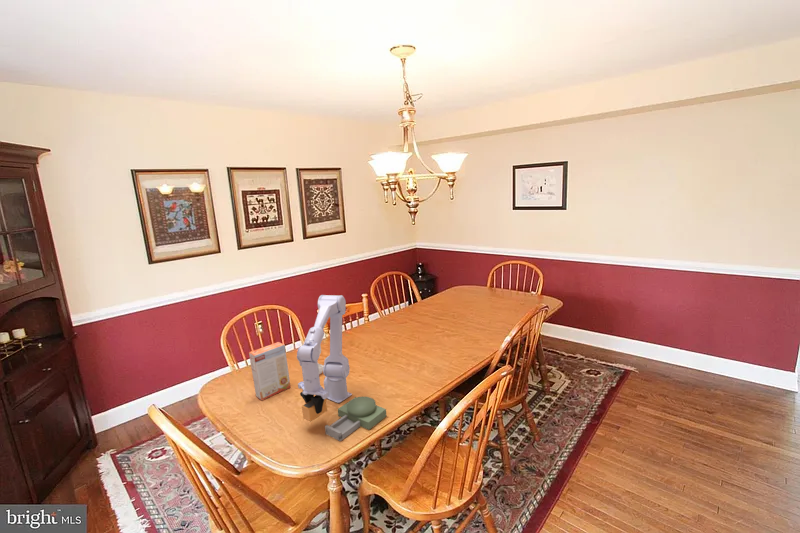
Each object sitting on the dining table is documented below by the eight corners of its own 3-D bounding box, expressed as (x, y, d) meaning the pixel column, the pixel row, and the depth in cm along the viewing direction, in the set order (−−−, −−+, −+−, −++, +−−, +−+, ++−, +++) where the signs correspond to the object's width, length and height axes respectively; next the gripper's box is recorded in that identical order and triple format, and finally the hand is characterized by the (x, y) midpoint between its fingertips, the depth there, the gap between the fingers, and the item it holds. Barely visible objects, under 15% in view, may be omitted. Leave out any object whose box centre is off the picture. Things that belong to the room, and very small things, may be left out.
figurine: (302, 376, 182) (298, 346, 178) (317, 368, 189) (314, 339, 186) (311, 380, 177) (308, 350, 174) (327, 371, 184) (324, 342, 181)
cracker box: (284, 383, 175) (278, 340, 171) (291, 387, 171) (285, 344, 167) (255, 396, 166) (248, 351, 161) (261, 401, 162) (254, 355, 157)
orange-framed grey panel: (303, 418, 139) (301, 405, 138) (320, 407, 145) (318, 395, 144) (310, 421, 137) (308, 408, 136) (327, 410, 143) (325, 398, 142)
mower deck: (317, 429, 140) (316, 417, 139) (357, 403, 156) (356, 391, 155) (349, 445, 130) (347, 432, 129) (387, 415, 146) (386, 403, 145)
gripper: (289, 376, 139) (293, 409, 142) (315, 387, 130) (319, 422, 133) (304, 368, 145) (308, 400, 148) (331, 378, 136) (334, 412, 139)
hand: (315, 410), depth 141 cm, fingers closed on orange-framed grey panel, 4 cm apart
